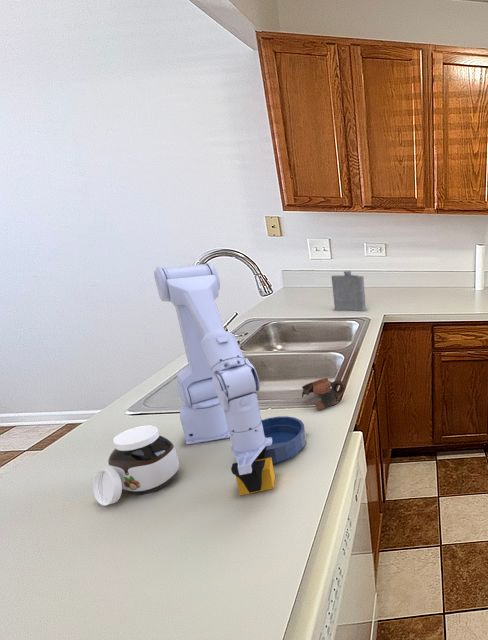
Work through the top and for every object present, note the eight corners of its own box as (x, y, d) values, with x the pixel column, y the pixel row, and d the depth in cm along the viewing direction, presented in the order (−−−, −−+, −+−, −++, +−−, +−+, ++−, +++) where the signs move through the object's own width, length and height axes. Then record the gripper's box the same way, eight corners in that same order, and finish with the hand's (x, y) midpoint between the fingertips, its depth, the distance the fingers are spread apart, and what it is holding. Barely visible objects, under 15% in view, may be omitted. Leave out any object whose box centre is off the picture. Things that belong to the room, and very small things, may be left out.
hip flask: (334, 310, 204) (329, 271, 197) (336, 308, 207) (332, 270, 200) (365, 311, 204) (362, 272, 197) (367, 308, 208) (364, 270, 201)
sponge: (240, 495, 79) (235, 475, 77) (243, 482, 83) (238, 463, 81) (273, 488, 81) (269, 468, 79) (275, 476, 85) (271, 457, 83)
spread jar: (188, 470, 86) (175, 424, 82) (149, 509, 75) (132, 458, 71) (131, 470, 85) (115, 423, 81) (83, 509, 75) (62, 458, 70)
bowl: (234, 473, 85) (230, 456, 84) (244, 437, 97) (241, 422, 96) (306, 459, 90) (303, 443, 89) (306, 427, 103) (304, 412, 101)
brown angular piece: (306, 415, 109) (295, 387, 109) (312, 413, 118) (302, 387, 118) (349, 398, 112) (339, 371, 112) (351, 397, 121) (342, 372, 121)
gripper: (264, 441, 72) (275, 500, 77) (271, 403, 84) (280, 456, 89) (219, 448, 69) (233, 509, 74) (233, 408, 82) (245, 463, 87)
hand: (257, 481), depth 81 cm, fingers open, 5 cm apart
